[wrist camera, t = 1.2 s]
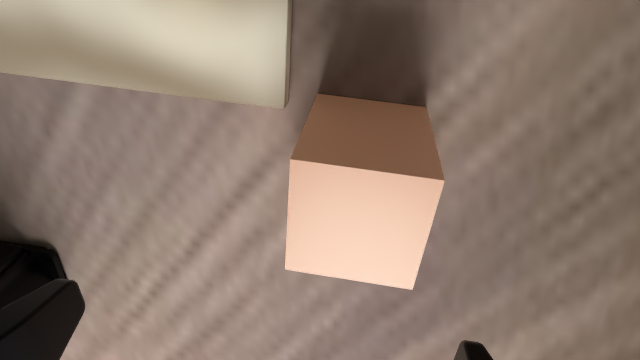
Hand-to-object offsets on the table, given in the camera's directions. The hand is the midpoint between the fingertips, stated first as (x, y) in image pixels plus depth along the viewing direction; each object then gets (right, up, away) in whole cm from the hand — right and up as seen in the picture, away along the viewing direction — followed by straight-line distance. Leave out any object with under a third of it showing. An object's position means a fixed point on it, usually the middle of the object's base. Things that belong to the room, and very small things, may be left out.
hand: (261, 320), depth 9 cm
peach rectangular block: (+4, +5, +11) cm, 13 cm away
